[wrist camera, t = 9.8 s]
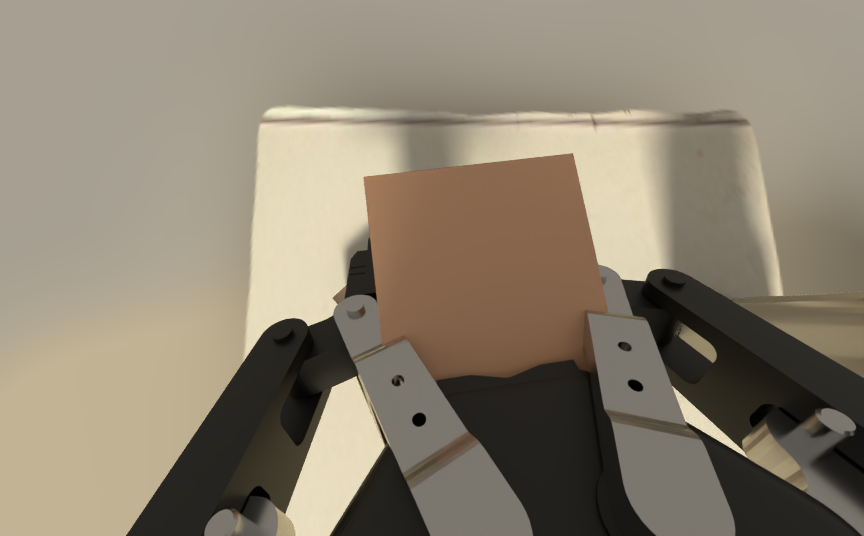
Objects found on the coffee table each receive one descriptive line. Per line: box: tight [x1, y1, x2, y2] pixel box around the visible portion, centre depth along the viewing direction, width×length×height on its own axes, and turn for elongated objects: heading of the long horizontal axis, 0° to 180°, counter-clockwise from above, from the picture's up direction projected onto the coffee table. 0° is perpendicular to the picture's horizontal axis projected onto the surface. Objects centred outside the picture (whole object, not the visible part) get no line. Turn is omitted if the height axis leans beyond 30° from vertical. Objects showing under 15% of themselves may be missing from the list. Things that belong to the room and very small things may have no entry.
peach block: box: [364, 153, 609, 384], centre depth 12 cm, size 5×5×10 cm
